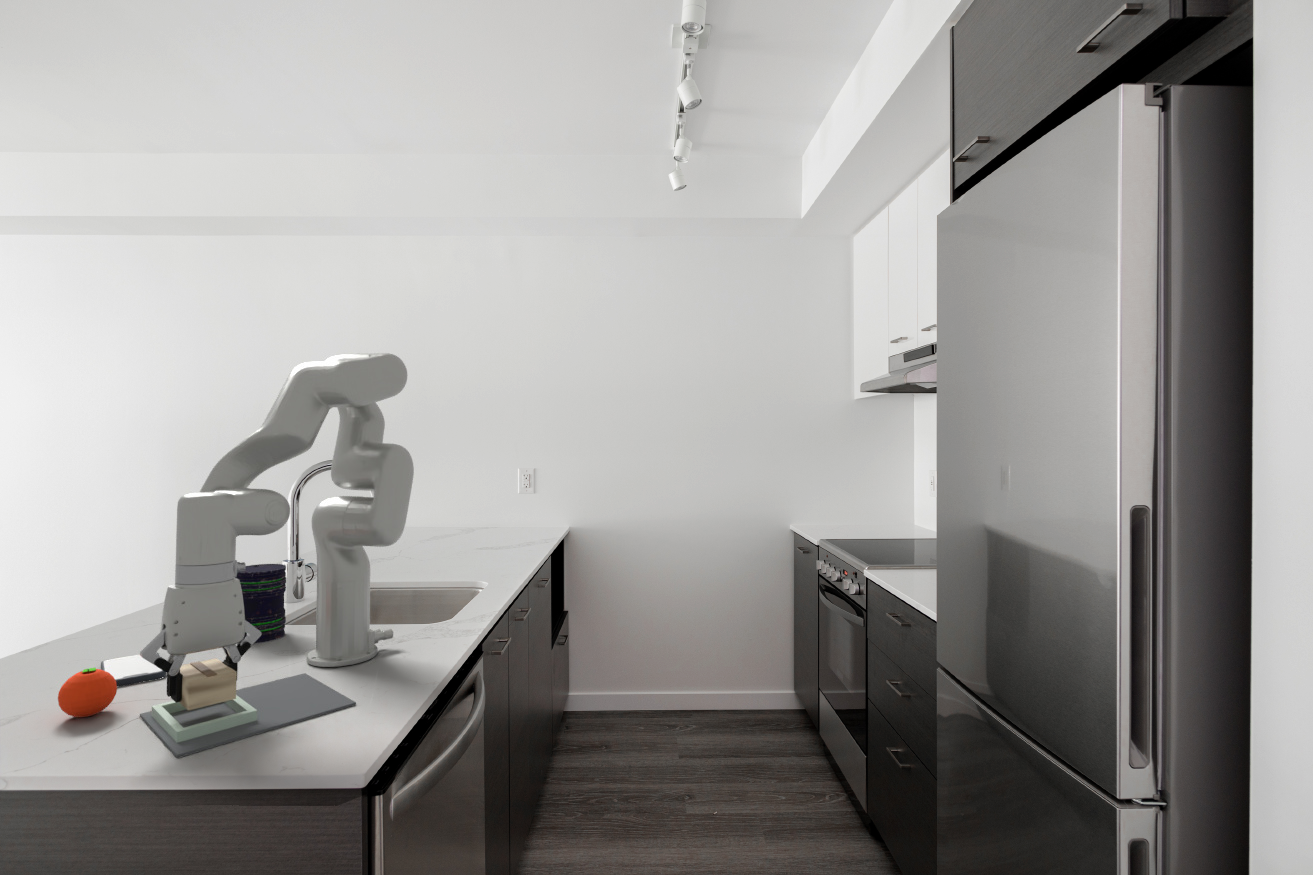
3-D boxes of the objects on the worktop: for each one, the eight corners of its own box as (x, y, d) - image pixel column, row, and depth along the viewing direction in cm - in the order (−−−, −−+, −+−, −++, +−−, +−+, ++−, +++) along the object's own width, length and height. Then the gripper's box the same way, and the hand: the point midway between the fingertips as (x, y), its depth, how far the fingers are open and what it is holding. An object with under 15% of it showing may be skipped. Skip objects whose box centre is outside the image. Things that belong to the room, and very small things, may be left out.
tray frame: (226, 696, 108) (227, 687, 108) (256, 720, 99) (256, 710, 99) (151, 715, 100) (151, 705, 100) (176, 742, 91) (177, 731, 91)
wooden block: (236, 698, 98) (236, 670, 98) (188, 710, 94) (189, 680, 94) (215, 683, 104) (216, 656, 105) (169, 693, 100) (170, 665, 100)
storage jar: (292, 636, 142) (293, 567, 142) (241, 647, 135) (242, 574, 135) (275, 627, 149) (276, 561, 149) (225, 637, 141) (226, 567, 141)
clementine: (61, 710, 103) (62, 665, 103) (118, 700, 107) (119, 656, 107) (54, 728, 96) (54, 680, 96) (115, 717, 100) (116, 670, 100)
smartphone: (99, 668, 123) (102, 691, 111) (99, 660, 123) (102, 682, 111) (158, 658, 129) (167, 679, 117) (158, 650, 129) (167, 670, 117)
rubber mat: (304, 675, 119) (304, 673, 119) (355, 704, 106) (355, 702, 106) (139, 716, 101) (139, 713, 101) (176, 757, 88) (176, 754, 88)
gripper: (259, 563, 108) (257, 673, 108) (128, 578, 95) (124, 703, 95) (277, 569, 104) (274, 684, 103) (141, 585, 90) (137, 717, 90)
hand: (202, 692), depth 99 cm, fingers closed on wooden block, 6 cm apart
